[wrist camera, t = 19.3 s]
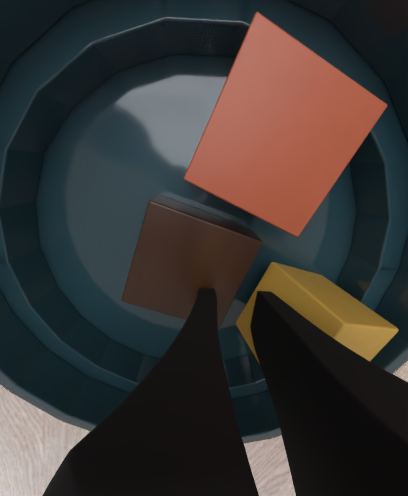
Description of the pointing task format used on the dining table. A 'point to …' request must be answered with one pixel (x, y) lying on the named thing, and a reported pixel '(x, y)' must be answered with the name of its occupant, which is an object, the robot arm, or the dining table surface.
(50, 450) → the dining table surface
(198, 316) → the robot arm
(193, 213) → the flat brown block
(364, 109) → the terracotta block
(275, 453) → the dining table surface
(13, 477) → the dining table surface
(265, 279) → the mustard block
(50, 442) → the dining table surface
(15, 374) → the bowl
